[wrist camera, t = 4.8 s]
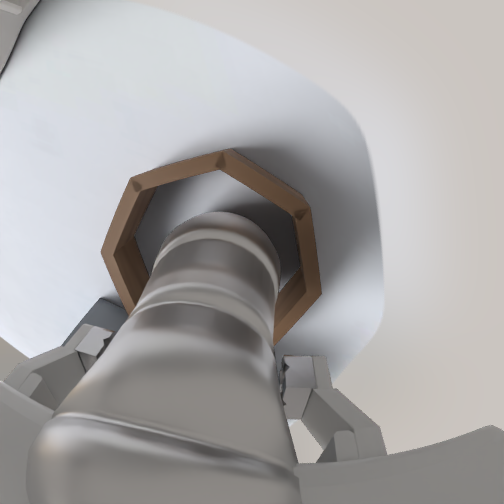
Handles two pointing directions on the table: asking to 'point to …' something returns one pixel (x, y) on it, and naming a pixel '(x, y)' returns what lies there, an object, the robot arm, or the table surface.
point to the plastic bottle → (181, 387)
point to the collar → (250, 174)
